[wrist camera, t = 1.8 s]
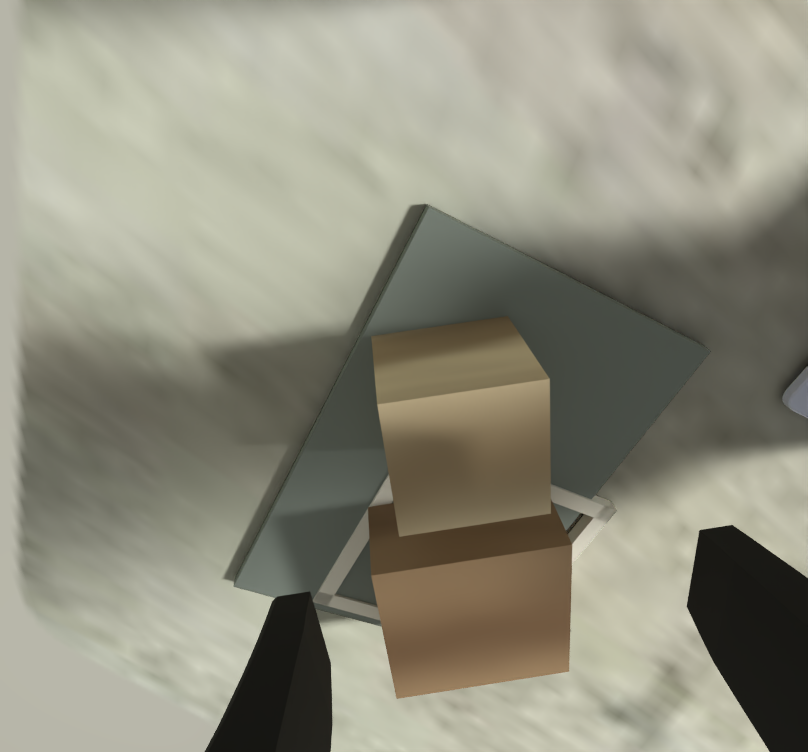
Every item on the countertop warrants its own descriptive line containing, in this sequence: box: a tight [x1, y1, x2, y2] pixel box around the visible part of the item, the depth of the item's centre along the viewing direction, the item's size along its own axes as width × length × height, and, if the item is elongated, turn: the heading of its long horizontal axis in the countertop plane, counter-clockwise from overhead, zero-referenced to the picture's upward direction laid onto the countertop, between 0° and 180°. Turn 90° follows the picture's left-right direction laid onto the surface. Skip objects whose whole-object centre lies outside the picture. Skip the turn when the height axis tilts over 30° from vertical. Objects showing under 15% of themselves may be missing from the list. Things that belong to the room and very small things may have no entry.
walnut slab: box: [368, 500, 572, 699], centre depth 20 cm, size 6×6×3 cm
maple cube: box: [371, 316, 551, 537], centre depth 16 cm, size 4×4×4 cm
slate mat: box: [234, 204, 711, 626], centre depth 20 cm, size 15×11×1 cm
